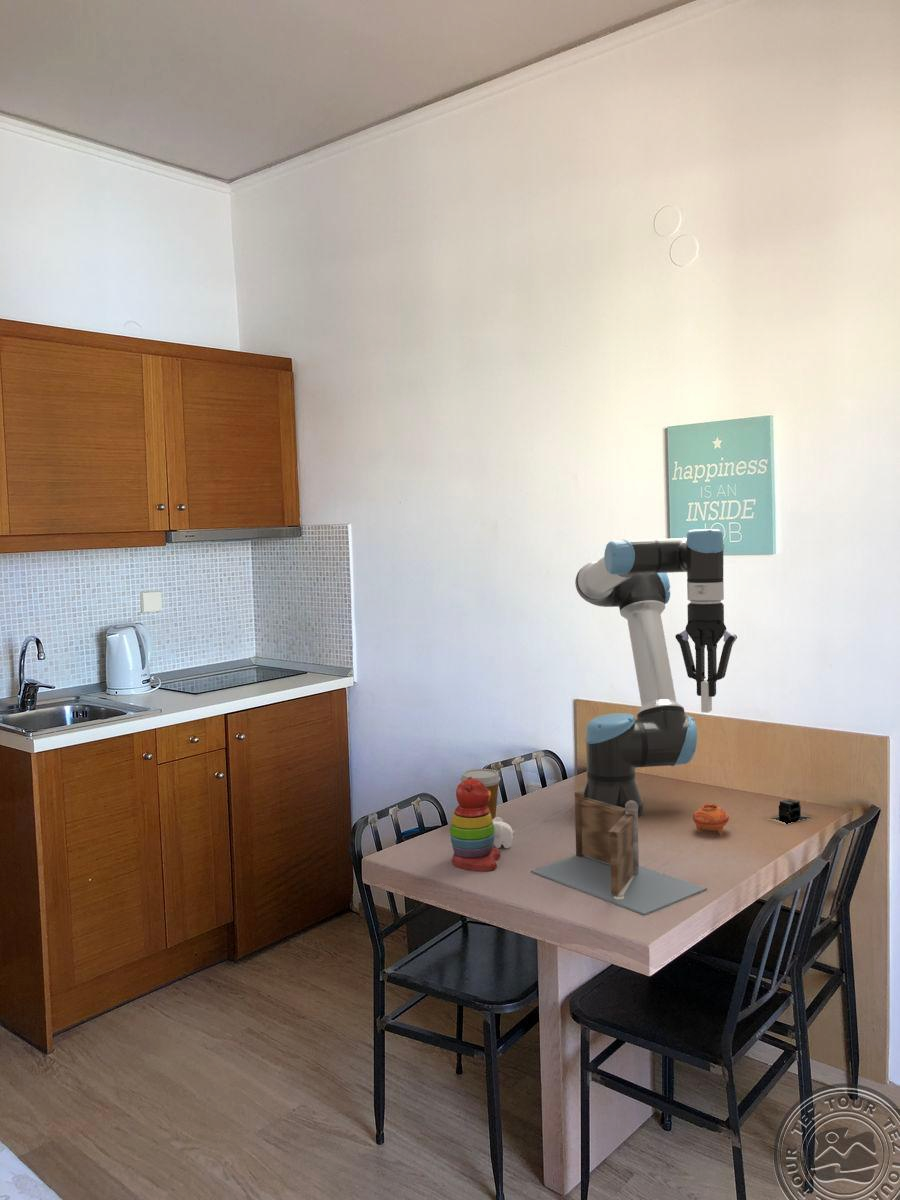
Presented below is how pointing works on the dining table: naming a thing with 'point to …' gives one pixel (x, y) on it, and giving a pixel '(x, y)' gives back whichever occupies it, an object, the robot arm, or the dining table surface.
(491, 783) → the disposable coffee cup
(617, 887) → the hinged fence panel
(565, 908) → the dining table surface
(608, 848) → the fixed fence
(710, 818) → the pot
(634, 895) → the card
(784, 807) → the black box
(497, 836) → the elephant figurine
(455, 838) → the stacking bear
